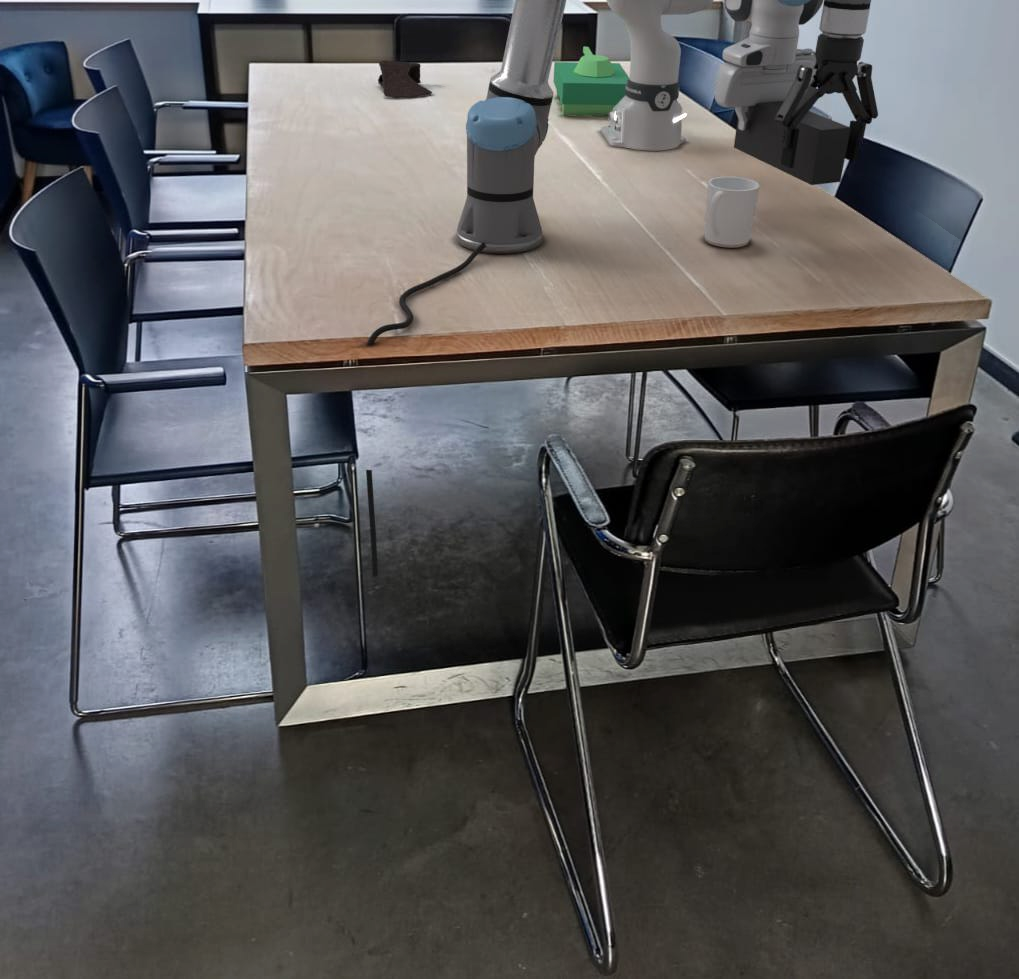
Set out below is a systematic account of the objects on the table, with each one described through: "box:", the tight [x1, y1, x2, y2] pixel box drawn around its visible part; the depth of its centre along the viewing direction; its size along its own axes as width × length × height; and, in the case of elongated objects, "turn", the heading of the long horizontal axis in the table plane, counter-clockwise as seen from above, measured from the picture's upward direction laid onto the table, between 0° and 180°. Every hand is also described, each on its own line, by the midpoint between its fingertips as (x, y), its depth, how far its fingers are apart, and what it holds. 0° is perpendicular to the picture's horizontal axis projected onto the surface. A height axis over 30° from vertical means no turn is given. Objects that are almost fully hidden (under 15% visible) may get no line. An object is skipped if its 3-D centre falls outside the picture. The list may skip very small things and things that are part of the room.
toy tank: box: [553, 46, 630, 117], centre depth 288 cm, size 18×12×35 cm
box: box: [733, 101, 851, 186], centre depth 200 cm, size 25×6×10 cm, turn 23°
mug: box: [703, 176, 760, 249], centre depth 194 cm, size 11×9×10 cm
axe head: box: [377, 59, 433, 99], centre depth 299 cm, size 18×8×15 cm
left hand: (818, 162), depth 193 cm, fingers open, 13 cm apart
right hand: (760, 128), depth 207 cm, fingers closed on box, 6 cm apart
